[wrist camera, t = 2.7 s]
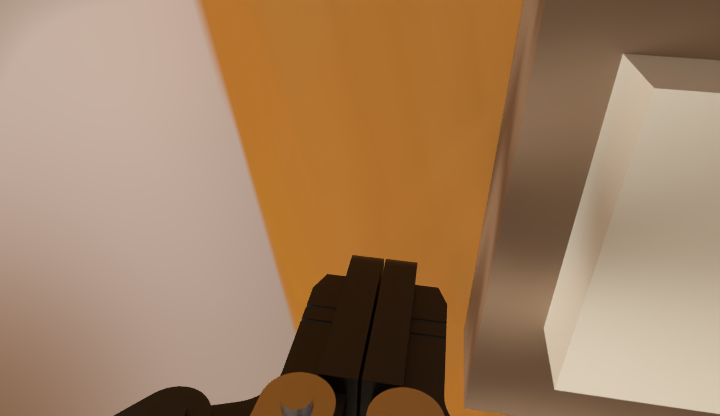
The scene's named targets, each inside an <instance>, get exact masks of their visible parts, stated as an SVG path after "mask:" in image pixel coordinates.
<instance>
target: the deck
mask: <svg viewBox="0 0 720 416" xmlns="http://www.w3.org/2000/svg"><path fill="white" fill-rule="evenodd" d="M623 54H637V55H652V56H666V57H680V58H694V59H708V60H720V0H524V3H523V8H522V14H521V19H520V25H519V30H518V36H517V42H516V47H515V53H514V58H513V64H512V69H511V75H510V80H509V86H508V91H507V97H506V102H505V108H504V114H503V119H502V125H501V130H500V136H499V141H498V147H497V152H496V158H495V163H494V169H493V174H492V180H491V185H490V191H489V197H488V202H487V208H486V213H485V219H484V224H483V230H482V235H481V241H480V246H479V252H478V257H477V263H476V269H475V274H474V280H473V285H472V291H471V296H470V302H469V307H468V313H467V318H466V324H465V329H464V408H466V409H473V410H479V411H486V412H492V413H499V414H505V415H512V416H720V414H715V413H708V412H701V411H695V410H688V409H681V408H674V407H667V406H661V405H654V404H647V403H640V402H633V401H627V400H620V399H613V398H606V397H600V396H593V395H586V394H579V393H572V392H566V391H559V390H554V384H553V379H552V373H551V367H550V362H549V356H548V350H547V345H546V339H545V333H544V325H545V322H546V319H547V315H548V312H549V308H550V305H551V301H552V298H553V294H554V291H555V287H556V284H557V280H558V277H559V273H560V270H561V266H562V263H563V260H564V256H565V253H566V249H567V246H568V242H569V239H570V235H571V232H572V228H573V225H574V221H575V218H576V214H577V211H578V207H579V204H580V201H581V197H582V194H583V190H584V187H585V183H586V180H587V176H588V173H589V169H590V166H591V162H592V159H593V155H594V152H595V148H596V145H597V142H598V138H599V135H600V131H601V128H602V124H603V121H604V117H605V114H606V110H607V107H608V103H609V100H610V96H611V93H612V89H613V86H614V83H615V79H616V76H617V72H618V69H619V65H620V62H621V58H622V55H623Z"/></svg>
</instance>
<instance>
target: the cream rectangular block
mask: <svg viewBox="0 0 720 416" xmlns="http://www.w3.org/2000/svg"><path fill="white" fill-rule="evenodd" d="M544 333H545V339H546V345H547V350H548V356H549V362H550V367H551V373H552V379H553V384H554V390H559V391H566V392H572V393H579V394H586V395H593V396H600V397H606V398H613V399H620V400H627V401H633V402H640V403H647V404H654V405H661V406H667V407H674V408H681V409H688V410H695V411H701V412H708V413H715V414H720V60H708V59H694V58H680V57H666V56H652V55H637V54H623V55H622V58H621V62H620V65H619V69H618V72H617V76H616V79H615V83H614V86H613V89H612V93H611V96H610V100H609V103H608V107H607V110H606V114H605V117H604V121H603V124H602V128H601V131H600V135H599V138H598V142H597V145H596V148H595V152H594V155H593V159H592V162H591V166H590V169H589V173H588V176H587V180H586V183H585V187H584V190H583V194H582V197H581V201H580V204H579V207H578V211H577V214H576V218H575V221H574V225H573V228H572V232H571V235H570V239H569V242H568V246H567V249H566V253H565V256H564V260H563V263H562V266H561V270H560V273H559V277H558V280H557V284H556V287H555V291H554V294H553V298H552V301H551V305H550V308H549V312H548V315H547V319H546V322H545V325H544Z"/></svg>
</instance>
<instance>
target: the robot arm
mask: <svg viewBox="0 0 720 416" xmlns="http://www.w3.org/2000/svg"><path fill="white" fill-rule="evenodd" d="M416 271H417V263H415V262H407V261H398V260H390V259H386V262H385V266H384V259H381V258H372V257H364V256H356V255H353V256H352V258H351V261H350V265H349V268H348V271H347V275H346V276H338V275H330V274H327V275H326V276H325V277H324V278H323V279H322V280H321V281H320V282H319V283H317V284H316V285H315V286H314V287H313V289H312V292H311V295H310V298H309V300H308V303H307V307H306V308H305V311H304V314H303V317H302V321H301V322H300V325H299V328H298V330H297V333H296V336H295V339H294V341H293V344H292V347H291V349H290V352H289V355H288V357H287V360H286V363H285V366H284V368H283V371H282V373H281V375H280V377H278V378H276V379H274V380H273V381H271V382H270V383H269V384H268V385H267V386H266V387H265V388H264V389H263V391H262V393H261V394H260V395H259V396H257V397H254V398H252V399H249V400H245V401H241V402H234V403H226V404H219V405H210V402H209V400H208V399H207V397H206V396H205V395H204V394H203V393H202V392H200V391H198V390H196V389H194V388H190V387H181V386H178V387H171V388H166V389H163V390H160V391H158V392H156V393H154V394H152V395H150V396H148V397H146V398H145V399H143V400H141V401H139V402H137V403H136V404H134V405H132V406H130V407H128V408H127V409H125V410H123V411H121V412H120V413H118V414H116V415H114V416H450V415H449V413H448V411H447V409H446V405H445V401H444V382H445V352H446V322H447V303H446V302H445V300H444V298H443V296H442V294H441V292H440V290H439V288H436V287H428V286H419V285H415V281H416Z"/></svg>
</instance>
